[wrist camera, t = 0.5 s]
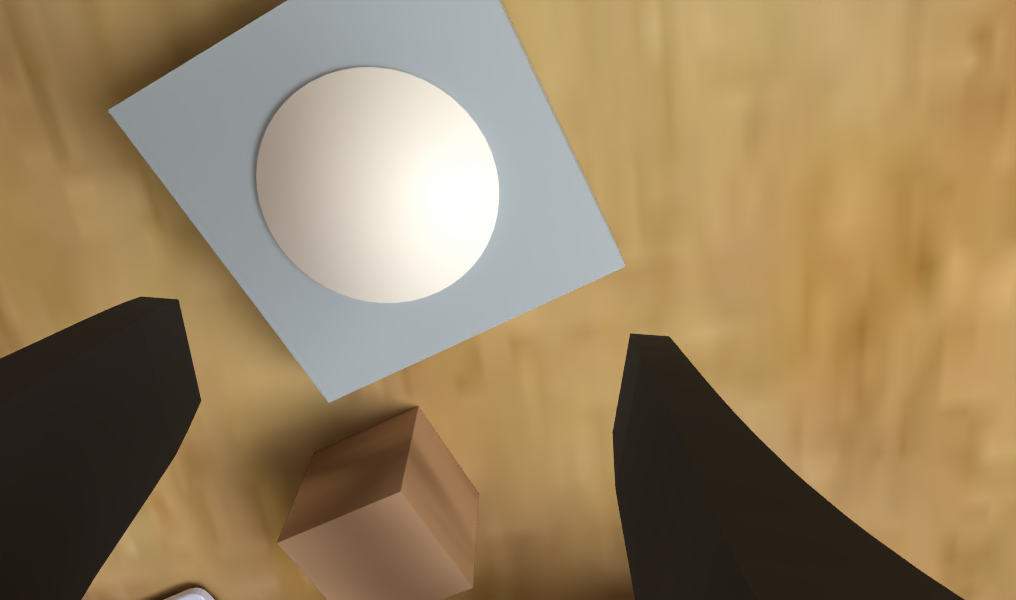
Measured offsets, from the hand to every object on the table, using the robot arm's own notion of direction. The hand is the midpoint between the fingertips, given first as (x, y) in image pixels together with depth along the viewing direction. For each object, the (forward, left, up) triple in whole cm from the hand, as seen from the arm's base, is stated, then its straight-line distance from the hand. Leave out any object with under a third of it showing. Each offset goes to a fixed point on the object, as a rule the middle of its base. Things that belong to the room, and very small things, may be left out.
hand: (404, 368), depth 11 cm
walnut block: (-7, -9, -11) cm, 16 cm away
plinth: (-1, +1, -11) cm, 11 cm away
